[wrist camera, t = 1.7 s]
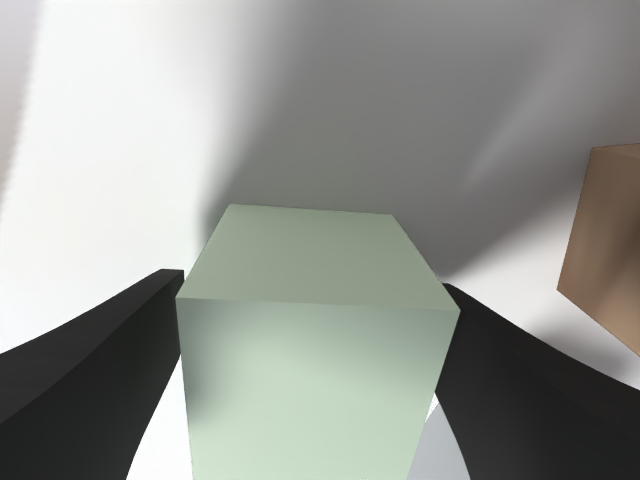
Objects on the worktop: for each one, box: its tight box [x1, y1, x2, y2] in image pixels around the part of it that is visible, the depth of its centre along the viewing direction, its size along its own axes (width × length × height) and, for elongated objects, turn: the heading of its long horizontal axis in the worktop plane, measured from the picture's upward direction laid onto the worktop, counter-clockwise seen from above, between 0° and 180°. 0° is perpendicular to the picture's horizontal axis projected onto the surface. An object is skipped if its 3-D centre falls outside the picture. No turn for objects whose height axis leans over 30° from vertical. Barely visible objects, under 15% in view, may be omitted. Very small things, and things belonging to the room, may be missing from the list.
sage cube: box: [175, 204, 461, 480], centre depth 9 cm, size 5×5×5 cm
